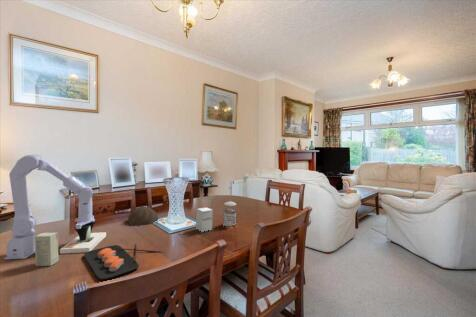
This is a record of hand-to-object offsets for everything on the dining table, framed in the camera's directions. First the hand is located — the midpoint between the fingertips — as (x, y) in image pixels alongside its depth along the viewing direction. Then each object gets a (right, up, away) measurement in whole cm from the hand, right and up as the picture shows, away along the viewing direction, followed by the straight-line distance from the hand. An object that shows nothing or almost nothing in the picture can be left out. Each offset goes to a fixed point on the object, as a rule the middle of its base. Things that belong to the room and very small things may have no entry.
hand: (85, 238), depth 112 cm
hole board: (0, -3, 0) cm, 3 cm away
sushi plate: (+28, -5, -12) cm, 30 cm away
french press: (+70, -4, +35) cm, 78 cm away
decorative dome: (+13, -2, +38) cm, 40 cm away
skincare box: (-2, -4, -20) cm, 20 cm away
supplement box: (+55, -4, +25) cm, 61 cm away
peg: (0, -1, 0) cm, 1 cm away
